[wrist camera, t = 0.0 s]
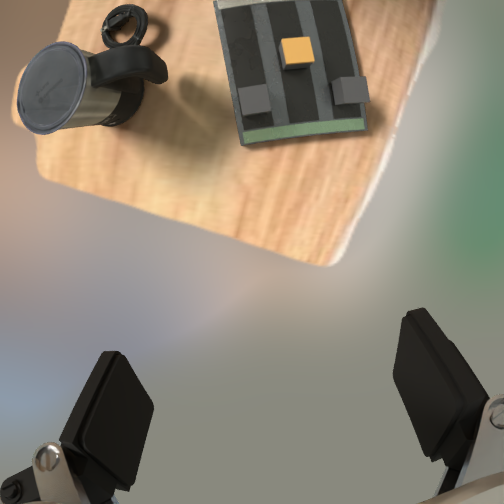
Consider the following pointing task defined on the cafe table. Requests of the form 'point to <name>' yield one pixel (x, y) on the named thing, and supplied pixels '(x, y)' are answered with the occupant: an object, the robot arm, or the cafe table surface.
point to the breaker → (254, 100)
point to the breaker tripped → (296, 53)
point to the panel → (293, 80)
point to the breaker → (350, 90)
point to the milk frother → (89, 79)
